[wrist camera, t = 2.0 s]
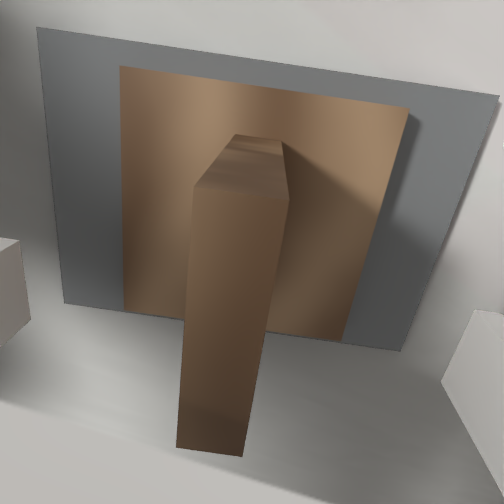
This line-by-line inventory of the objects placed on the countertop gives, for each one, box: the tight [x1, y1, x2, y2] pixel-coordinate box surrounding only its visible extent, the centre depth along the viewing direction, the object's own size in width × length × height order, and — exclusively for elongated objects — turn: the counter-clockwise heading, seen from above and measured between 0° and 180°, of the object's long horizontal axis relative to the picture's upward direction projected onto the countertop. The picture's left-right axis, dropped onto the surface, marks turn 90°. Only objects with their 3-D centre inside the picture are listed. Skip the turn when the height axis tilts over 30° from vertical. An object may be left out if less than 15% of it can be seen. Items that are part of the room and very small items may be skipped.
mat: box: [36, 27, 500, 351], centre depth 19 cm, size 20×14×1 cm
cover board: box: [119, 65, 410, 457], centre depth 14 cm, size 12×12×10 cm
